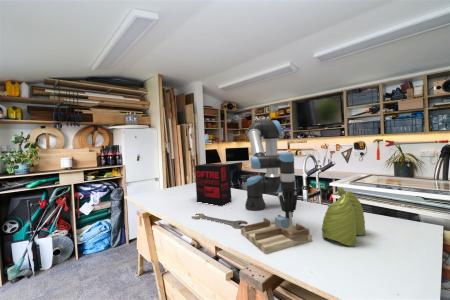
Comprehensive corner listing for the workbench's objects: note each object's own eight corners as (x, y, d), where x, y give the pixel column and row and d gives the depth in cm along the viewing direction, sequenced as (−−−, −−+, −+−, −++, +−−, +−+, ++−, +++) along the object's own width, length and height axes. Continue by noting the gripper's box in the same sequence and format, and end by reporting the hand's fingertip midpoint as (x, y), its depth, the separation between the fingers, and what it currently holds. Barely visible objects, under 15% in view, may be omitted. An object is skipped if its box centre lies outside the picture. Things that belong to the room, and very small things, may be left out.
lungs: (337, 225, 123) (336, 183, 122) (369, 232, 112) (367, 186, 111) (317, 239, 107) (315, 191, 106) (351, 250, 95) (349, 196, 94)
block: (275, 226, 118) (274, 217, 118) (282, 224, 120) (282, 215, 120) (280, 229, 114) (280, 220, 114) (288, 227, 116) (288, 218, 115)
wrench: (188, 219, 147) (188, 216, 147) (198, 214, 156) (198, 211, 156) (242, 230, 123) (242, 227, 123) (250, 224, 132) (250, 221, 132)
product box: (197, 202, 186) (194, 165, 185) (207, 198, 198) (205, 163, 197) (221, 206, 171) (219, 166, 170) (231, 201, 182) (229, 164, 181)
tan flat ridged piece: (241, 233, 118) (240, 222, 118) (281, 224, 128) (281, 214, 128) (265, 253, 96) (264, 240, 96) (312, 240, 106) (311, 228, 106)
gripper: (292, 178, 123) (294, 219, 124) (273, 181, 118) (275, 223, 119) (301, 180, 116) (303, 223, 117) (282, 183, 111) (284, 228, 112)
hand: (289, 223), depth 118 cm, fingers closed
